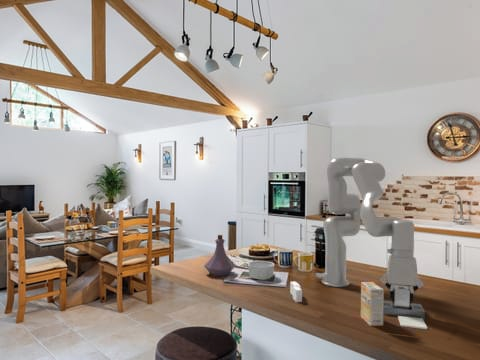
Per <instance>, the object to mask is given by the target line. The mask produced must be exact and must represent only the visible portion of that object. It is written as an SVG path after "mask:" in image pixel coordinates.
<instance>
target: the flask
mask: <svg viewBox="0 0 480 360" xmlns="http://www.w3.org/2000/svg"><path fill="white" fill-rule="evenodd" d="M225 241H226V240H225V239H223V234H217V239H215V241H214V242H215V244H216V246H215V250H214V253H213V255H212V256H211V258H210V259H209V260H208V261H207V262H206V263H205V264H204V266H203V267H204V268H205V269H206V270H207V271H208V272H209V274H210V275H211V276H214V277H224V275H225V276H228V275H227V274H228V273H229V272H231V271H232V270H233V269H234V268H235V266H236V264H235V263H234V262H233V260H231V258H230V257H229V256H228V255H227V253H226V251H225V250H226V249H225V245H224V243H225ZM229 274H230V273H229Z"/></svg>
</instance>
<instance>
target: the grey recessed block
mask: <svg viewBox="0 0 480 360" xmlns="http://www.w3.org/2000/svg"><path fill="white" fill-rule="evenodd" d="M383 315H385V316H396V317H398V316H403V317H412V318H422V319H423V320H426V319H425V318H426V311H425V309H424V307H423V306H422V304H421V303H413V302H411V304H409V309H402V308H394V306H393V302H392V300H385V299H384V300H383Z"/></svg>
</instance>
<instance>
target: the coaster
mask: <svg viewBox="0 0 480 360" xmlns="http://www.w3.org/2000/svg"><path fill="white" fill-rule="evenodd" d="M397 319H398V322H399V324H400V326H401V327H402V328H403V327H404V328H405V327H406V328H411V329H422V330H428V326H427V324H426V322H425V321H424V320H425V319H422V318H412V317H403V316H397Z"/></svg>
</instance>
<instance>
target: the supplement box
mask: <svg viewBox="0 0 480 360" xmlns="http://www.w3.org/2000/svg"><path fill="white" fill-rule="evenodd" d="M384 293H385V291H384V288H383V287H381V286H379V285H378V284H376V283H375V282H373V281H361V282H360V318H362V319H363V321H365V323H367V324H368V326H370V327H376V326H377V327H380V326H381V327H382V326H384V314H383V300H384V301H385V299H384Z"/></svg>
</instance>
